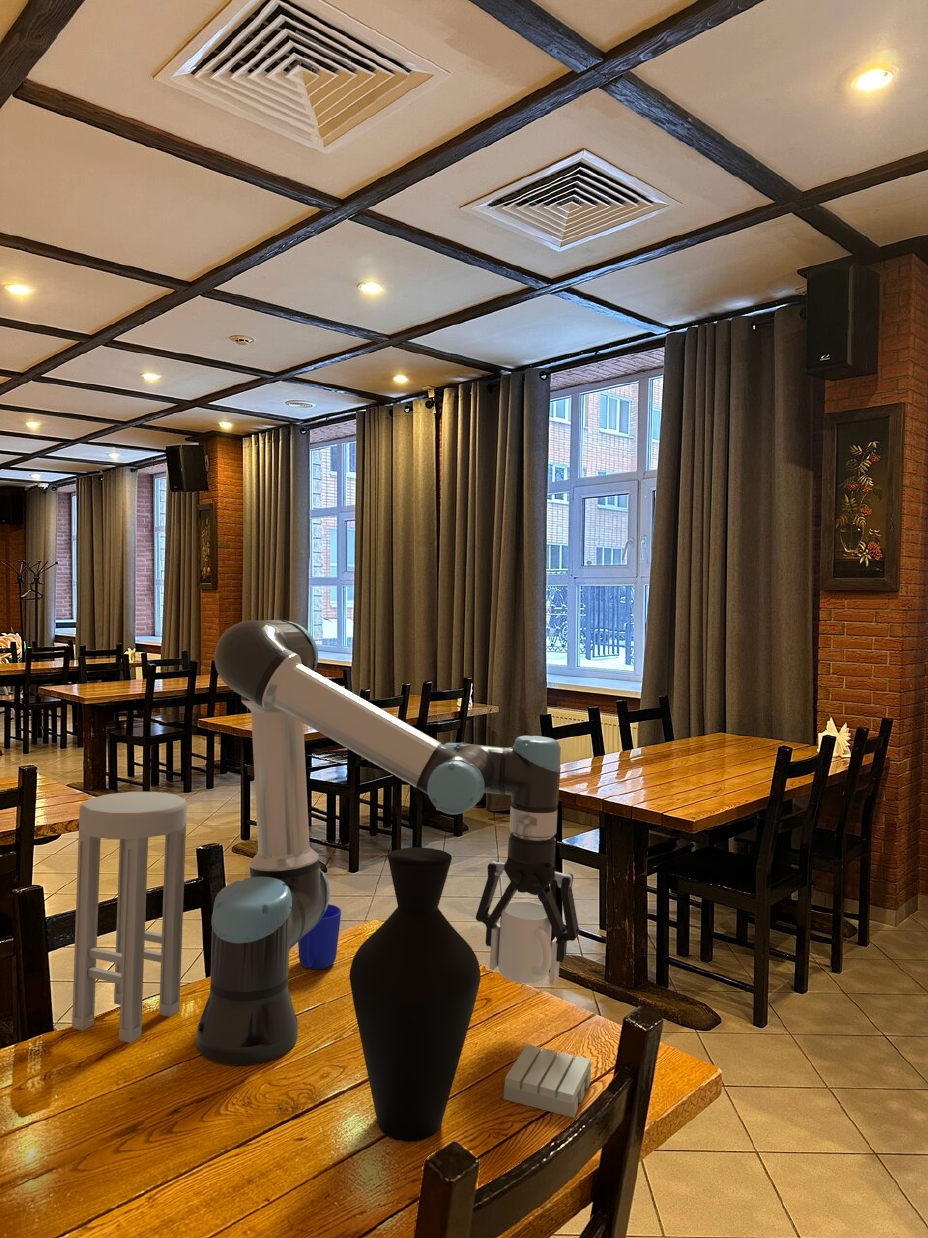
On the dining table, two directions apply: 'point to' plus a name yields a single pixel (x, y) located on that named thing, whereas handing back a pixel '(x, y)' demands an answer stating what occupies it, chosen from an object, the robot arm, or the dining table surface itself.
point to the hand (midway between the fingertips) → (523, 973)
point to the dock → (548, 1080)
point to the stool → (129, 904)
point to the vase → (414, 999)
